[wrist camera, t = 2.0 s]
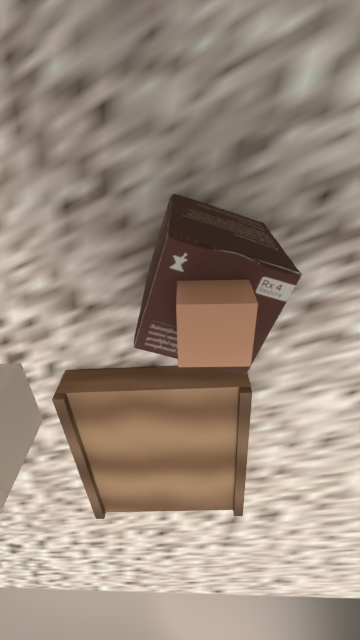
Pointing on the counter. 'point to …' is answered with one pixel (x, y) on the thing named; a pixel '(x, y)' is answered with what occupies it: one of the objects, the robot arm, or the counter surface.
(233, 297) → the tan rounded cube
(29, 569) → the counter surface
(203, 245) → the box
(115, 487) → the dock
